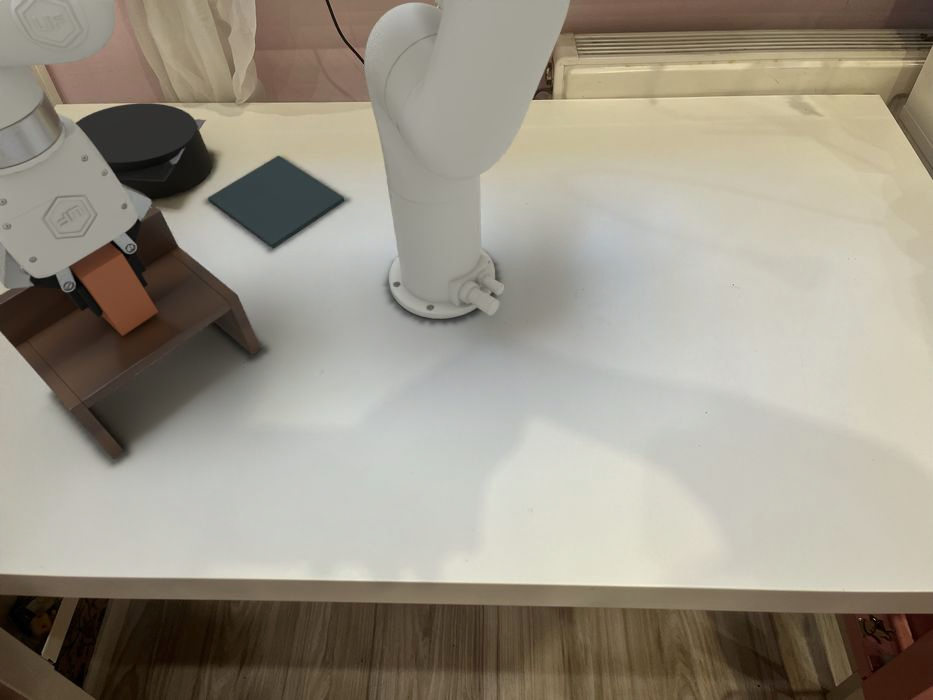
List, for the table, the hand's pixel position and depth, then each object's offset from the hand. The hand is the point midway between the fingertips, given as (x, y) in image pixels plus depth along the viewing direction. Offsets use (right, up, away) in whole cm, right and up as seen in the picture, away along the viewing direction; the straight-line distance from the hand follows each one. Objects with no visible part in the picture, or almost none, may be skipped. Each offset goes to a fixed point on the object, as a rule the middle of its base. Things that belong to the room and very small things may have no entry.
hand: (115, 292), depth 65 cm
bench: (0, -8, +10) cm, 12 cm away
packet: (0, -2, +2) cm, 3 cm away
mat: (+8, +15, +27) cm, 31 cm away
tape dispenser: (-11, +20, +32) cm, 39 cm away
